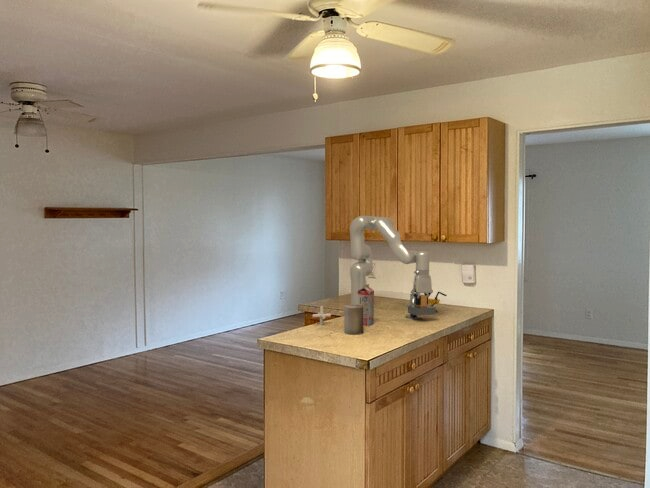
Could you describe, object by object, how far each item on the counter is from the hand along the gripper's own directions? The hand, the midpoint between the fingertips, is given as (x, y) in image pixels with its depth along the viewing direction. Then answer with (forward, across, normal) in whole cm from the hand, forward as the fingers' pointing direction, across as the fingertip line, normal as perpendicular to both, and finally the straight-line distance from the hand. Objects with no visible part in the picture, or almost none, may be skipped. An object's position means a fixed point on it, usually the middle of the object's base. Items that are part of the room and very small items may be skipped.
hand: (421, 304), depth 288 cm
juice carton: (+10, -36, +1) cm, 37 cm away
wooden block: (+7, 0, 0) cm, 7 cm away
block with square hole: (+9, 0, +4) cm, 10 cm away
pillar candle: (+10, -51, -14) cm, 54 cm away
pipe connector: (+10, -58, +10) cm, 60 cm away
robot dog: (+10, +22, +20) cm, 31 cm away
